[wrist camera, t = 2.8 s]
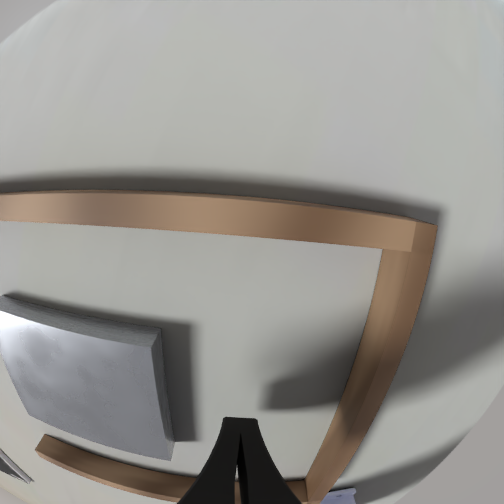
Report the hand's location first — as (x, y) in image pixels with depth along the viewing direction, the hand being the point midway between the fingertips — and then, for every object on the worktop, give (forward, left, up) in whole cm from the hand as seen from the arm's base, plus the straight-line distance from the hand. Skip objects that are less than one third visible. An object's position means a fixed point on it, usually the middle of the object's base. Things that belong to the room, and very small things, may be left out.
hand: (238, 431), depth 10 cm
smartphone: (+35, +27, -3) cm, 45 cm away
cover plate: (+8, 0, -2) cm, 9 cm away
